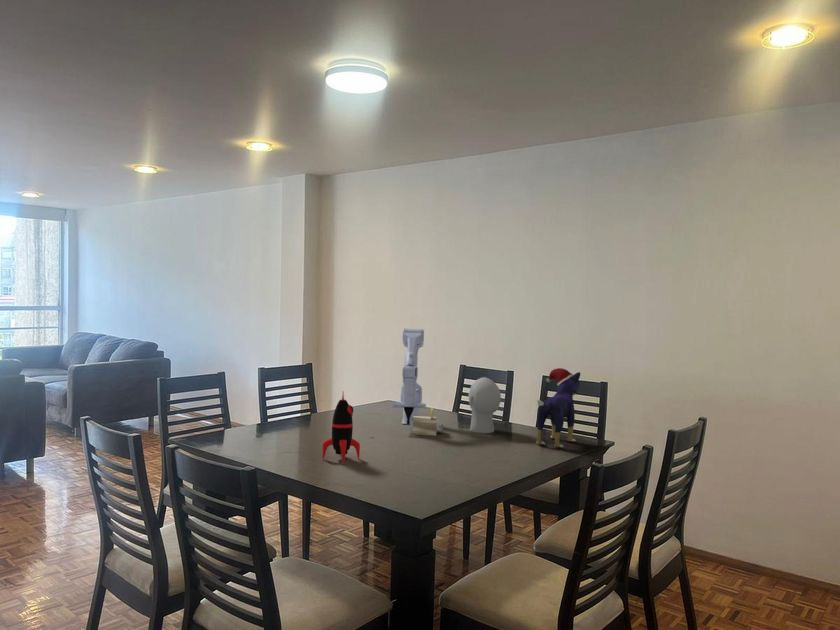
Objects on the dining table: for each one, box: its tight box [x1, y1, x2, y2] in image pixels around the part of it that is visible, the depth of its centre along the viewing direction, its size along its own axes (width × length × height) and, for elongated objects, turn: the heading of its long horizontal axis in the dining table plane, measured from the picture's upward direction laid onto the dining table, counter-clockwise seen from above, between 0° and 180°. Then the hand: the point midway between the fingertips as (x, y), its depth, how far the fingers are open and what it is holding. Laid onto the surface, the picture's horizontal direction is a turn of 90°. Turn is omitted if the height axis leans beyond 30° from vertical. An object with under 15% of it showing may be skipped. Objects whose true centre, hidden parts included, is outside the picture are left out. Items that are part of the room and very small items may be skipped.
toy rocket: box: [322, 392, 361, 464], centre depth 223 cm, size 10×10×25 cm
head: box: [467, 376, 502, 434], centre depth 279 cm, size 14×18×25 cm
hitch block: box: [412, 415, 438, 436], centre depth 272 cm, size 10×10×6 cm
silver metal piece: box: [409, 417, 444, 435], centre depth 272 cm, size 7×14×6 cm, turn 91°
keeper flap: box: [430, 407, 434, 420], centre depth 271 cm, size 6×1×4 cm, turn 1°
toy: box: [536, 367, 581, 449], centre depth 259 cm, size 16×40×30 cm, turn 146°
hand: (408, 424), depth 271 cm, fingers closed, pressing on silver metal piece
